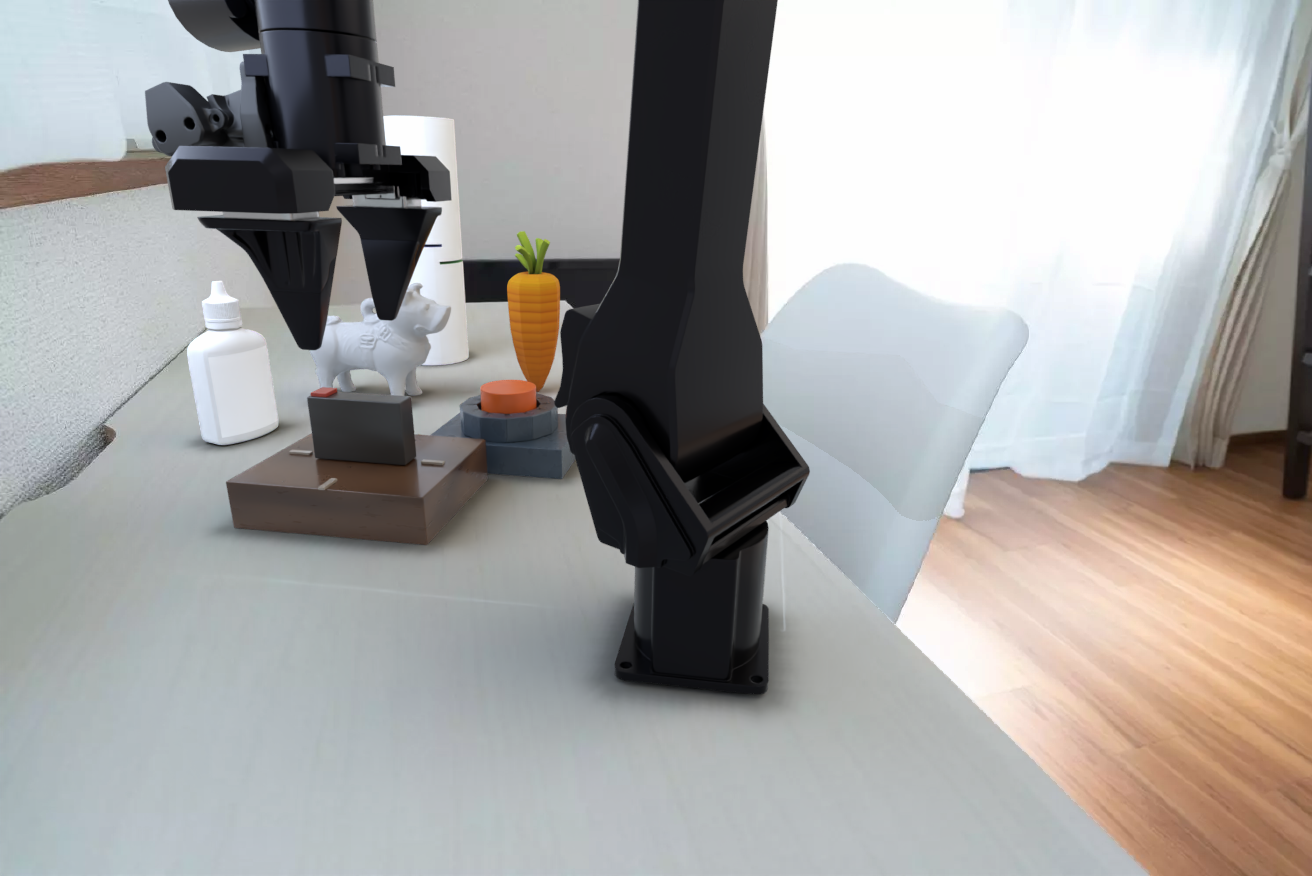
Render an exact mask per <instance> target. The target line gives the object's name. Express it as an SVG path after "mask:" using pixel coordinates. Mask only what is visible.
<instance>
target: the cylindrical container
mask: <svg viewBox="0 0 1312 876" xmlns="http://www.w3.org/2000/svg"><path fill="white" fill-rule="evenodd" d="M383 117H384V128H385V140H386V145H388V146H400V148H401V155H420V156H436V157H437V158H438V159H439V160H440V162H441V163H442V164H443V165H444V166H445V167H446V168H447V169H448V170H449V171H450V183H451V199H452V200H451V201H439V202H428V201H427V200H421V207H442V213H441V215H440V216H438V217H437V218H436V220H435V223H434V225H433V227H432V230H431V232H430V234H429V237H428V239H427V241H426V244H425V246H424V248H423V250H422V253H421V255H420V258H419V260H418V263H417V265H416V267H415V270H414V273H413V276H412V278H411V281H410V283H409V285H411V284H413V283H416V282H417V283H420V284H422V285H423V287H422V288H421V289H420V295H422V296H423V297H425V298H428V299H431V300H434V301H435V302H436V304H439V305H443V306H450V307H451V313H450V316H449V319H448V322H447V324H446V326H445V328H444V329H443V330H442V331H439V332H438V333H433V334H428V335H426V337H427V338H428V340H429V343H430V345H431V349H430V351H429V354H428V356H427V359H426V361H425V363H423V364H422V365H421V366H445V365H451V364H453V365H454V364H458V363H462V362H464V361H466V360H468V359H469V357H470V355H469V354H470V353H469V337H468V321H467V319H468V318H467V306H466V305H467V303H466V289H465V287H466V286H465V273H464V272H465V271H464V260H463V241H462V240H463V239H462V226H461V225H462V224H461V209H460V191H459V179H458V178H459V175H458V162H457V143H456V127H455V119H454V118H448V117H438V116H427V115H424V116H423V115H383ZM408 287H409V286H408Z"/></svg>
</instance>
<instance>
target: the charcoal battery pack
mask: <svg viewBox="0 0 1312 876" xmlns="http://www.w3.org/2000/svg"><path fill="white" fill-rule="evenodd" d="M306 399H307V400H306V402H307V407H308V408H307V409H308V415H309V423H310V431H311V433H312V438H313V446H314V453H315V458H321V459H333V460H345V461H358V462H370V463H383V464H395V465H406V464H407V463H409V462H410V461H411V460H413V459H414V458H415V457H416V446H415V435H414V434H415V425H414V424H415V423H414V414H413V403H412V401H413V400H412V396H411V395H404V396H397V395H391V394H380V393H366V392H354V391H352V392H342V391H339V390H338V388H337V387H333V388H327V387H322V388H320V387H319V388H318V389H316V390H313V391H311V392H310V395H309V396H307V397H306Z"/></svg>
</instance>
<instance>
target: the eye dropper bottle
mask: <svg viewBox="0 0 1312 876" xmlns="http://www.w3.org/2000/svg"><path fill="white" fill-rule="evenodd" d="M210 289H211V290H210V295H209V297H207V298H205V299H203V300H202V301H201V306H202V313H203V318H204V324H205V328H206V329H207V330H206V331H205V332H203V333H201V334H199V335H198V336H197V337H195V338H194V339H192V341H190V343H189V345H188V346H187V349H186V356H187V362H188V369H189V374H190V381H191V386H192V392H193V397H194V401H195V409H196V413H197V418H198V424H199V429H200V435H201V439H202V440H203V441H204V442H206V443H210V444H215V445H219V446H227V445H228V446H229V445H233V444H238V443H239V444H240V443H243V442H246V441H251V440H254V439H257V438H260V437H262V436H265V435H267V434H270V433H271V432H273V431H274V430H276V429H277V428H278V426H279V424H280V419H279V413H278V412H279V411H278V406H277V405H278V404H277V399H276V392H275V387H274V379H273V372H272V366H271V361H270V359H271V358H270V353H269V347H268V343H267V340H266V338H265V337H264V335H263V334H261V333H259V332H258V331H255V330H252V329H248V328H243V318H242V312H241V306H240V300H239V299H238V298H236V297H233V296H231V295H229V294H228V292H227V289H226V286H225V284H224V281H223V280H213V281H211V288H210Z"/></svg>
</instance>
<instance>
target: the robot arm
mask: <svg viewBox="0 0 1312 876" xmlns="http://www.w3.org/2000/svg"><path fill="white" fill-rule="evenodd" d="M778 1H779V0H637V8H636V23H635V37H634V53H633V65H632V66H633V67H632V79H631V81H632V82H631V95H630V96H631V98H630V110H629V124H628V125H629V126H628V138H627V150H626V151H627V153H626V168H625V181H624V182H625V184H624V195H623V196H624V197H623V210H622V224H621V238H620V239H621V240H620V252H619V253H620V255H619V262H618V266H617V267H618V268H617V271H616V274H615V276H614V279H613V281H612V283H611V284H610V286H609V287H608V290H607V291H606V293H605V295H604V297H603V298H602V299H601V301H600V303H597V304H591V305H585V306H580V307H573V308H569V309H567V310H566V311H565V313H564V315H563V320H562V323H561V327H560V330H559V333H560V334H559V335H560V337H559V338H560V347H561V358H562V359H561V360H562V370H561V371H562V372H561V379H560V386H559V388H558V391H557V393H556V396H555V398H554V400H555V401H554V404H555V406H556V407H557V408H558V409H560V408H564V407H566V408H565V414H566V416H565V423H566V434H567V440H568V443H569V447H570V451H571V453H572V454H573V455H574V456H575V462H576V466H577V469H578V473H579V476H580V480H581V483H582V487H583V491H584V494H585V498H586V501H587V505H588V508H589V509H588V510H589V512H590V515H591V519H592V523H593V527H594V529H595V530H594V531H595V533H596V537H597V539H598V541H599V543H601V544H604V545H607V546H609V547H611V548H614V549H616V550H619V553H620V554H621V555H623V557H624V561H625V564H627V565H630V566H632V567H634V588H633V589H634V593H633V603H632V608H631V611H630V614H629V617H628V621H627V623H626V626H625V630H624V633H623V636H622V639H621V642H620V645H619V649H618V652H617V655H616V658H615V661H614V676H615V677H616V678H617V679H618V680H621V681H626V682H634V683H635V682H636V683H645V684H653V685H663V686H670V687H671V686H672V687H681V688H691V689H697V690H698V689H700V690H709V691H718V692H726V693H736V694H746V695H754V696H761V695H763V694H766V693H767V692H768V689H769V681H770V679H769V677H770V676H769V673H770V672H769V667H770V666H769V665H770V664H769V663H770V661H769V657H770V656H769V655H770V653H769V652H770V651H769V649H770V648H769V647H770V644H769V643H770V638H769V637H770V635H769V633H770V632H769V631H770V629H769V628H770V627H769V626H770V623H769V622H770V618H769V617H770V616H769V615H770V614H769V613H770V612H769V610H770V609H769V606H768V605H766V604H765V603H764V592H765V580H766V566H767V556H768V555H767V554H768V543H769V531H770V529H769V523H768V520H770V519H771V518H772V517H774V516H775V515H776V514H778V513H779V512H781V511H782V510H784V509H789V508H790V507H792V506H793V505H795V503H796V502H797V500H798V498H799V496H800V494H801V492H802V490H803V488H804V486H805V484H806V482H807V480H808V478H809V476H810V473H811V470H810V466H809V464H808V463H807V462H806V461H805V459H804V458H803V456H802V455H801V453H800V452H799V451H798V449H797V447H796V446H795V445H794V444H793V442H792V441H791V439H790V438H789V437H788V435H787V434H786V433H785V431H784V430H783V428H782V427H781V425H780V424H779V423H778V421H777V420H776V419H775V418H774V416H773V415H772V412H770V410H769V409H768V408H767V406H766V405H765V404H764V364H763V363H764V359H763V358H764V357H763V355H764V354H763V341H762V337H761V334H760V331H759V328H758V324H757V321H756V318H755V315H754V313H753V309H752V306H751V303H750V301H749V300H750V299H749V296H748V294H747V291H746V288H745V281H744V262H745V255H746V248H747V241H748V240H747V239H748V232H749V224H750V215H751V209H752V201H753V195H754V194H753V193H754V186H755V179H756V171H757V163H758V154H759V147H760V140H761V133H762V124H763V117H764V109H765V101H766V93H767V87H768V78H769V71H770V64H771V63H770V62H771V55H772V48H773V40H774V31H775V25H776V18H777V10H778V9H777V8H778ZM167 2H168V5H169V7H170V8H171V11H172V12H173V14H174V16H175V18H176V19H177V21H178V22H179V23H180V24H181V25H182V27H183V28H184V29H185V31H186V32H188V34H190V35H191V36H192V37H193V38H194V39H195V40H197V41H199V42H200V43H202V44H203V45H205V46H206V47H208V48H211V49H214V50H217V51H220V52H223V53H235V52H244V51H250V50H251V51H252V50H259V49H260V53H242V60H243V61H241V62H240V63H239V75H240V82H241V85H240V87H241V88H240V89H239V90H236V91H233V92H231V93H228V94H224V95H221V94H213V93H211V94H208V95H207V96H206V98H205V97H204V96H203V95H202V94H201V93H200V92H199V91H198V90H197V89H196V88H195V87H194V86H192V85H190V84H184V83H178V82H177V83H176V82H170V81H163V82H161V83H158V84H156V85H154V86H152V87H150V88H148V89H147V90H144V98H145V99H144V100H145V111H146V123H147V128H148V131H149V133H150V135H151V144H152V148H153V149H154V150H155V151H156V152H158V153H159V154H164V155H165V156H168V157H170V158H169V160H168V161H167V163H166V165H164V169H165V176H166V183H167V188H168V192H169V198H170V202H171V209H172V210H173V211H189V212H190V211H191V212H214V213H215V212H216V213H217V212H219V213H220V212H221V213H222V214H213V215H203V216H202V215H201V216H197V220H198V222H199V223H200V224H201V225H202V226H203V227H204V228H205V229H210V230H211V229H212V230H216V231H218V232H220V233H221V234H222V235H224V236H225V237H226V238H228V239H229V240H230V241H232V242H233V243H235V244H236V245H237V246H239V247H240V248H241V249H242V250H243V251H244V252H245V253H246V254H247V256H248V257H249V258H250V260H251V261H252V263H253V265H254V266H255V268H256V270H257V271H258V273H259V275H260V277H261V278H262V280H263V281H264V283H265V285H266V287H267V289H268V290H269V293H270V295H271V297H272V299H273V302H274V303H275V305H276V306H277V309H278V310H279V313H280V314H281V316H282V318H283V321H284V322H285V324H286V326H287V328H288V330H289V332H290V334H291V336H292V337H293V339H294V341H295V343H296V345H297V347H298V348H299V349H300V350H303V351H309V350H318V349H320V348H321V346H322V341H323V337H324V332H325V328H326V323H327V317H328V316H329V311H330V303H331V296H332V289H333V284H334V276H335V270H336V264H337V263H336V262H337V257H338V250H339V243H340V238H341V237H340V236H341V230H342V224H343V221H342V220H343V218H344V219H345V220H346V221H347V222H348V224H349V225H351V227H352V228H353V229H354V230H355V231H356V232H357V234H358V236H359V239H360V244H361V250H362V253H363V254H362V255H363V259H364V264H365V268H366V273H367V274H366V275H367V279H368V283H369V289H370V294H371V298H373V302H374V306H375V308H374V310H375V313H377V317H378V318H379V319H380V320H388V321H392V320H395V319H396V318H397V315H398V313H399V310H400V307H401V305H402V302H403V299H404V297H405V294H406V291H407V289H408V286H409V283H410V281H411V278H412V276H413V273H414V270H415V267H416V265H417V263H418V260H419V258H420V255H421V253H422V250H423V248H424V246H425V244H426V241H427V239H428V237H429V234H430V232H431V230H432V227H433V225H434V223H435V220H436V218H437V217H438V216H440V215H441V213H442V207H421V200H427V201H428V202H439V201H451V200H452V199H451V183H450V171H449V170H448V169H447V168H446V167H445V166H444V165H443V164H442V163H441V162H440V160H439V159H438V158H437V157H436V156H420V155H401V148H400V146H388V145H386V140H385V128H384V117H383V116H384V108H383V106H384V105H383V97H382V88H396V78H395V66H391V65H387V64H384V63H380V62H379V52H378V51H379V50H378V39H377V29H376V17H375V7H374V0H167ZM335 197H343V199H344V200H352V204H349V205H347V204H346V205H336V210H337V211H338V212H339V213H340V214H341V215H342V216H343V218H342V217H327V216H326V217H325V216H323V217H322V216H320V212H329V210H330V208H331V206H332V203H333V200H334V198H335Z"/></svg>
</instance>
